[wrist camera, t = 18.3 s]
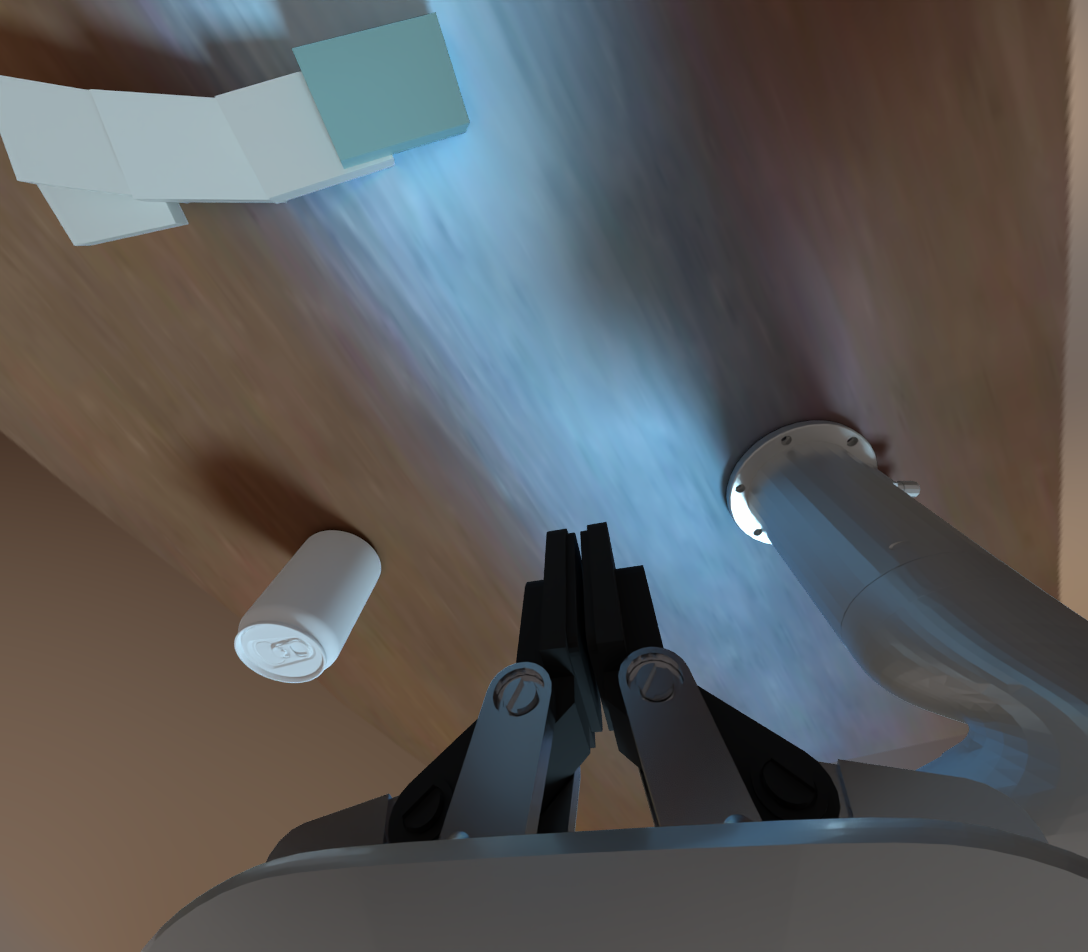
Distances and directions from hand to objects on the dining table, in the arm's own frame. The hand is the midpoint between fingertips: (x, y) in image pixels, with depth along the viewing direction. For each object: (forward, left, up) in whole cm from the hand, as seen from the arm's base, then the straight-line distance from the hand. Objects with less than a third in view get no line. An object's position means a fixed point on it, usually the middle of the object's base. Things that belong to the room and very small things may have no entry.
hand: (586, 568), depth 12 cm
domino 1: (+26, -13, -24) cm, 37 cm away
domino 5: (+7, -17, -24) cm, 30 cm away
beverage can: (+23, +21, -26) cm, 40 cm away
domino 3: (+19, -13, -24) cm, 34 cm away
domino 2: (+27, -11, -25) cm, 39 cm away
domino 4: (+12, -15, -24) cm, 31 cm away
